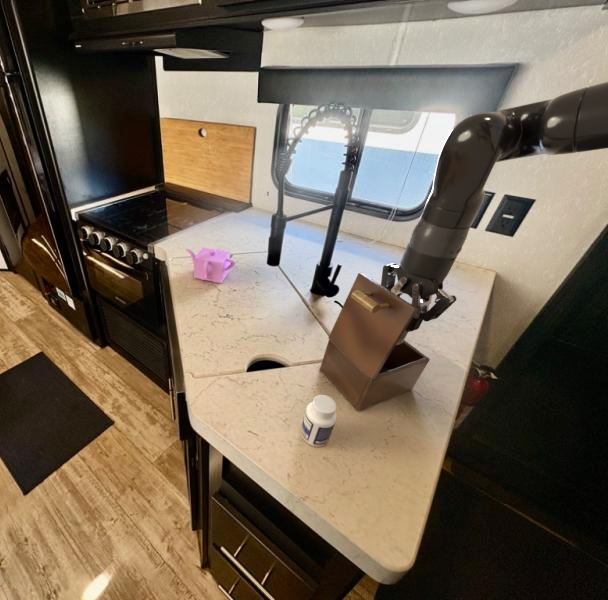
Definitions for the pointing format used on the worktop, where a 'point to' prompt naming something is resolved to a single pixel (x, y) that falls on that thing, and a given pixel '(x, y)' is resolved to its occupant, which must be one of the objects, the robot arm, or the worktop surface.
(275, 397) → the worktop surface
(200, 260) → the teapot
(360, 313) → the lid
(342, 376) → the chest
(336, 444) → the worktop surface
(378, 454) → the worktop surface
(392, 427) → the worktop surface
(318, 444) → the pill bottle
